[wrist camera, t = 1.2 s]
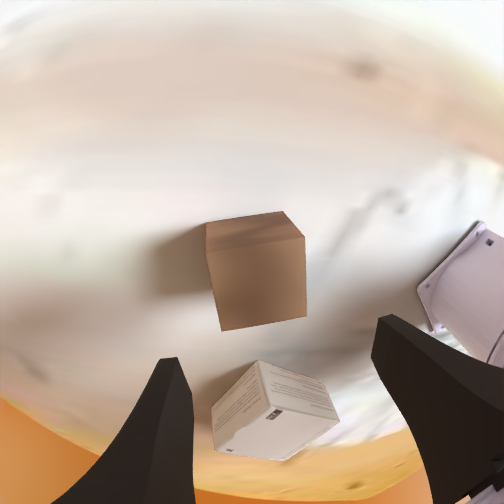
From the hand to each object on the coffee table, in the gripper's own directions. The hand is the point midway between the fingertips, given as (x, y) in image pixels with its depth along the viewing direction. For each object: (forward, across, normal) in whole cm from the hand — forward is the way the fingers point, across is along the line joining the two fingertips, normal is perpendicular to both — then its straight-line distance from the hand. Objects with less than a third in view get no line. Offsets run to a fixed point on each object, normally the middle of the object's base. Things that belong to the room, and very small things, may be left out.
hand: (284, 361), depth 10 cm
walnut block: (+10, 0, 0) cm, 10 cm away
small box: (+10, 0, +15) cm, 18 cm away
